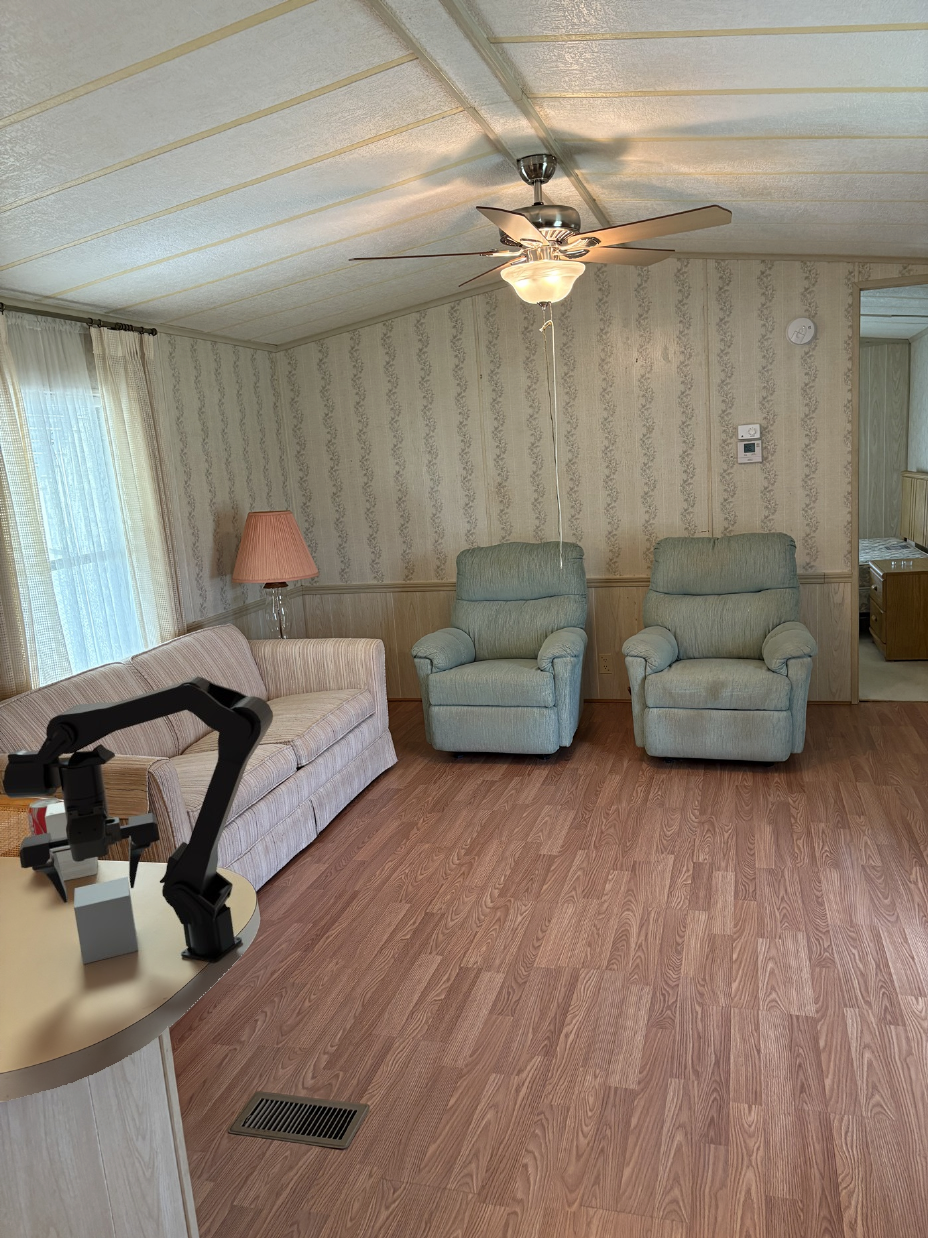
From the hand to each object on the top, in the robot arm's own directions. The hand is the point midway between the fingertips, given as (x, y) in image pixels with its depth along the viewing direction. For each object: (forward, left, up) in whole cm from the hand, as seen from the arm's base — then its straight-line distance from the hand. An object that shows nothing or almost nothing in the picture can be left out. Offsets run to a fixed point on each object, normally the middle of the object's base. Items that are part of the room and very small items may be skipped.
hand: (99, 894), depth 140 cm
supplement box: (+30, -23, -10) cm, 39 cm away
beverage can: (+38, -25, -10) cm, 47 cm away
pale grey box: (+2, -2, -10) cm, 10 cm away
